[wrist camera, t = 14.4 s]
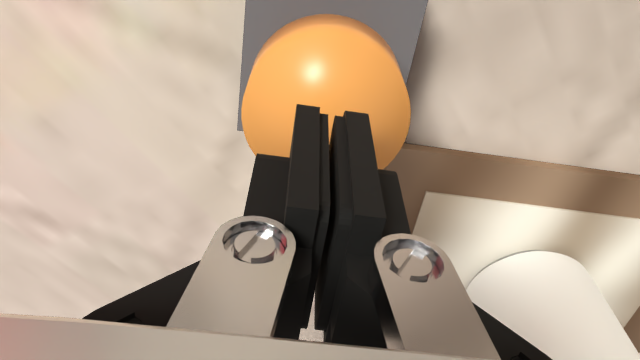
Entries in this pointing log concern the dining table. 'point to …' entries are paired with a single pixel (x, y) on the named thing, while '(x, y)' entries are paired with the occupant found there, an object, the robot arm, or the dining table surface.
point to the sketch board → (527, 216)
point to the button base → (357, 3)
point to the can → (552, 306)
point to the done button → (325, 84)
